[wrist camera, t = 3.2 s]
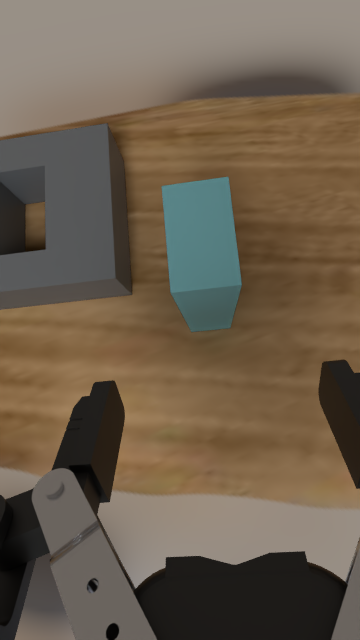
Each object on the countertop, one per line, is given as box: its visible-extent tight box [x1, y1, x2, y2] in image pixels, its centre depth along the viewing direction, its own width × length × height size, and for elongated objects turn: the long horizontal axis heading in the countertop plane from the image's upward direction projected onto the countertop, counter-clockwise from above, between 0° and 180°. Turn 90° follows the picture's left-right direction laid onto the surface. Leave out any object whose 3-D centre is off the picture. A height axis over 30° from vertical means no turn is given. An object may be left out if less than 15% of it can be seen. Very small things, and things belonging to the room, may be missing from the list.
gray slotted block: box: [0, 123, 132, 310], centre depth 26 cm, size 14×12×4 cm
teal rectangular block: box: [162, 177, 242, 332], centre depth 20 cm, size 3×5×12 cm, turn 5°
